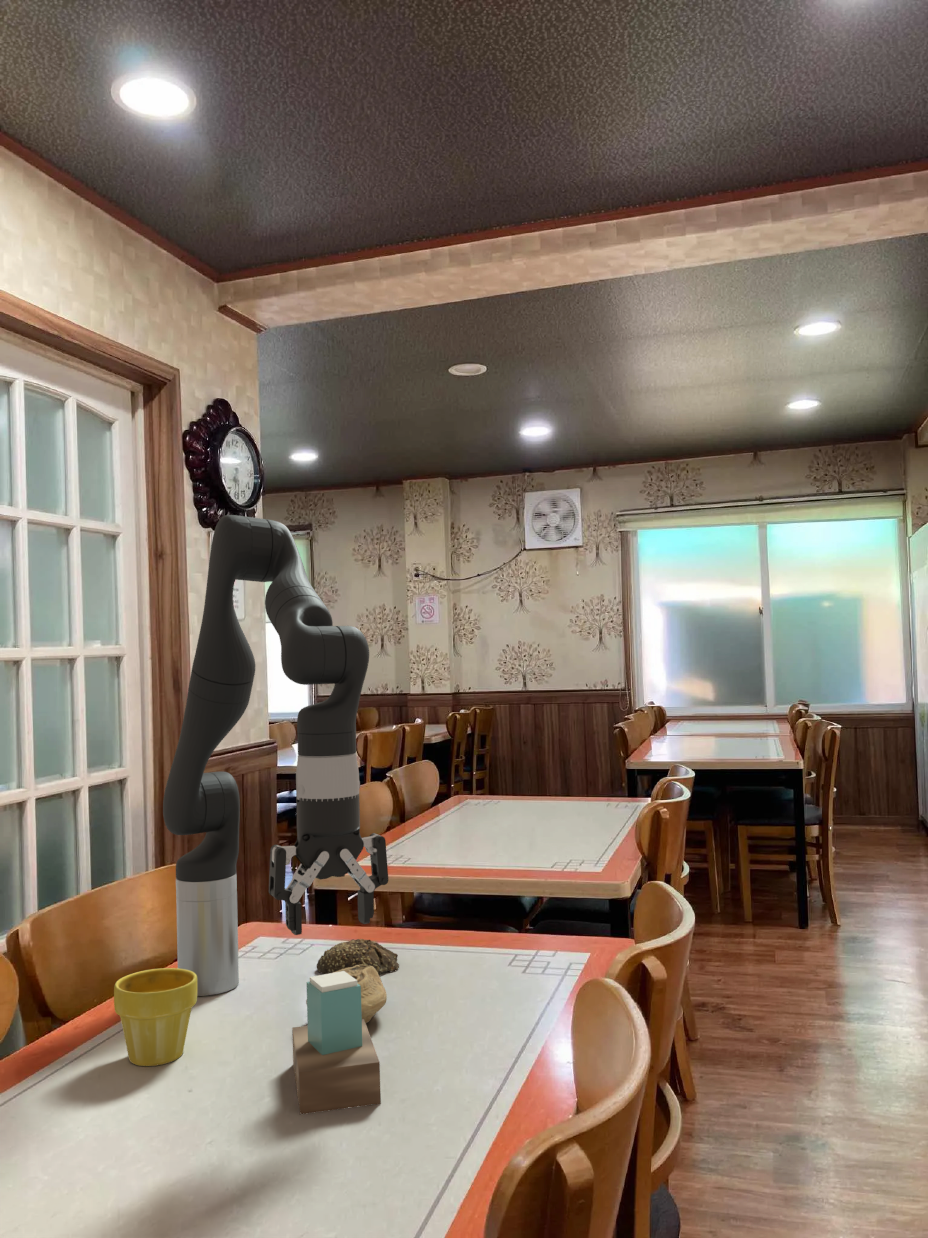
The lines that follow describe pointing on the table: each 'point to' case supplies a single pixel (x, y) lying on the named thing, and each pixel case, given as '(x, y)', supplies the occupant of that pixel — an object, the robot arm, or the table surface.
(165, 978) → the plant pot
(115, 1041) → the table surface
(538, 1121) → the table surface
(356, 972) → the oil lamp
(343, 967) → the bread roll
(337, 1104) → the brown rectangular block
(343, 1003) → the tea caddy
